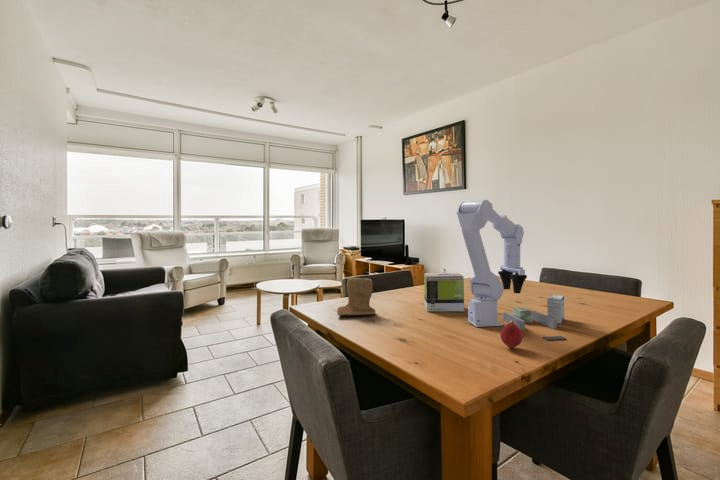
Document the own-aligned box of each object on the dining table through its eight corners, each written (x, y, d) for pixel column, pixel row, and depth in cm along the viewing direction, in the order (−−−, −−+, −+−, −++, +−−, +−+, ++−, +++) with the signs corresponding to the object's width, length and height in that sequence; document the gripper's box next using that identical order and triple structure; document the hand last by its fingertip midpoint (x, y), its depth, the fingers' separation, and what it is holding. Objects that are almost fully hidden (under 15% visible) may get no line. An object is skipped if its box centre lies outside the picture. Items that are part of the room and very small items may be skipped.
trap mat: (547, 340, 103) (547, 339, 103) (542, 338, 105) (542, 336, 105) (566, 339, 103) (566, 338, 103) (561, 337, 106) (561, 335, 106)
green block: (520, 323, 121) (520, 310, 121) (513, 319, 126) (513, 307, 125) (532, 323, 122) (532, 310, 121) (524, 319, 126) (525, 307, 126)
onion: (521, 353, 93) (521, 324, 93) (498, 349, 96) (498, 321, 96) (523, 347, 98) (523, 319, 98) (502, 343, 101) (502, 316, 101)
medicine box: (561, 324, 119) (561, 299, 119) (546, 322, 122) (547, 298, 121) (564, 319, 125) (564, 295, 125) (550, 317, 128) (550, 294, 128)
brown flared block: (373, 310, 143) (373, 274, 142) (376, 317, 131) (376, 278, 130) (337, 311, 142) (336, 275, 141) (337, 319, 130) (336, 279, 129)
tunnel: (521, 330, 113) (521, 321, 113) (503, 320, 125) (503, 312, 125) (557, 328, 114) (557, 319, 114) (535, 318, 126) (535, 310, 126)
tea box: (459, 306, 147) (459, 272, 146) (464, 312, 137) (464, 275, 136) (424, 306, 148) (423, 272, 148) (426, 312, 138) (426, 275, 138)
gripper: (533, 257, 123) (532, 294, 124) (512, 253, 138) (511, 287, 138) (514, 257, 123) (514, 295, 123) (495, 254, 137) (495, 287, 138)
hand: (511, 291), depth 131 cm, fingers open, 7 cm apart
